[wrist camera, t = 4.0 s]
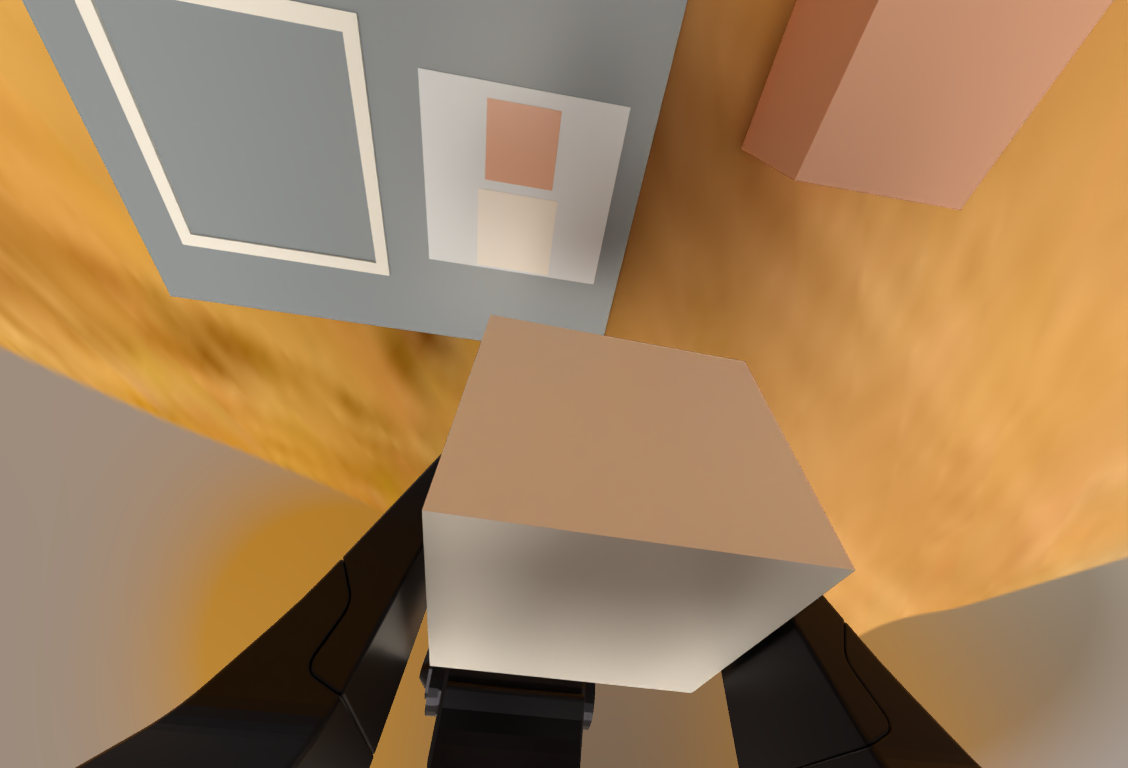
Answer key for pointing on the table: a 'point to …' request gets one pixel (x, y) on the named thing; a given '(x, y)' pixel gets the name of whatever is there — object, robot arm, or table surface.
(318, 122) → the building plate
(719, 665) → the cream block
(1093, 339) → the table surface
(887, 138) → the terracotta block
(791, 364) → the table surface
